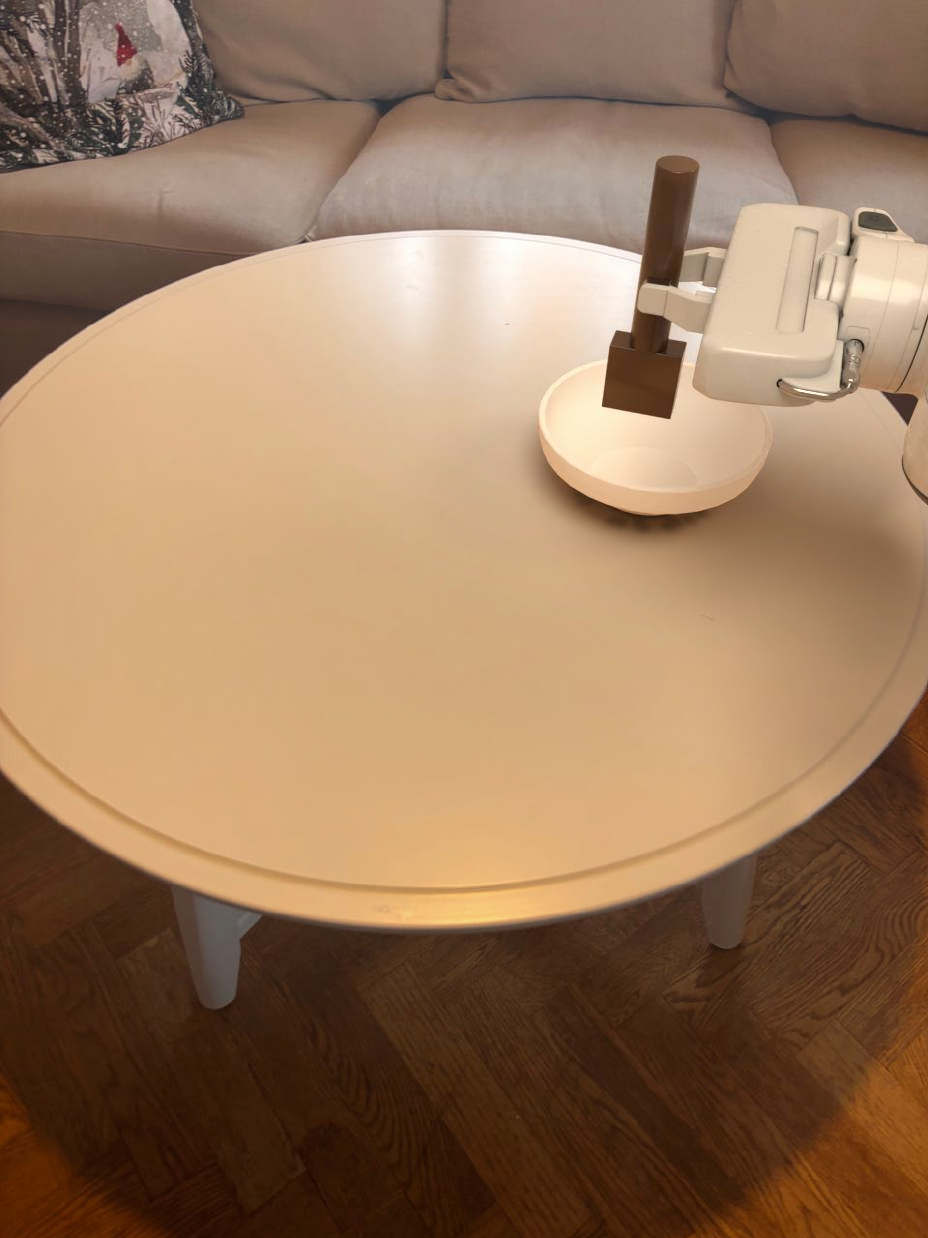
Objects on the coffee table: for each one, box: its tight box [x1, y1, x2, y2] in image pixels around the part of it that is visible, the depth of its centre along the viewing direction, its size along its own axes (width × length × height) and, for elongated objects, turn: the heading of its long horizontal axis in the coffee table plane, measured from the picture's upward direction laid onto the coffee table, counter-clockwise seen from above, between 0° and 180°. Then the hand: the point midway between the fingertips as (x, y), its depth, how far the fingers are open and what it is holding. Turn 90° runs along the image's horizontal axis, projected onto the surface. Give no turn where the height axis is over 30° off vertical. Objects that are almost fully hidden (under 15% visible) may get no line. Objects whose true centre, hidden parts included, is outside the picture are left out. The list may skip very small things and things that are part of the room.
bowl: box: [537, 358, 773, 516], centre depth 84 cm, size 20×20×7 cm
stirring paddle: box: [602, 154, 701, 419], centre depth 64 cm, size 5×3×17 cm, turn 72°
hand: (645, 278), depth 63 cm, fingers closed on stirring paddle, 2 cm apart
